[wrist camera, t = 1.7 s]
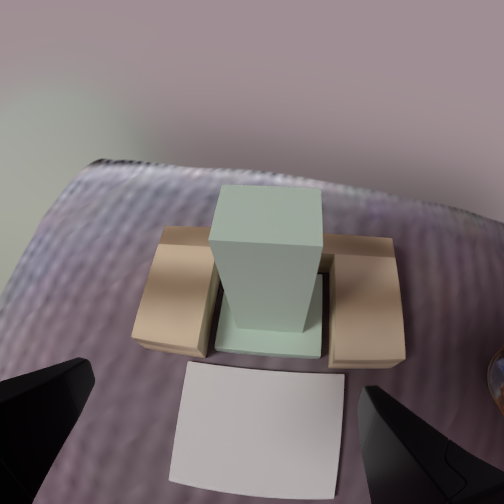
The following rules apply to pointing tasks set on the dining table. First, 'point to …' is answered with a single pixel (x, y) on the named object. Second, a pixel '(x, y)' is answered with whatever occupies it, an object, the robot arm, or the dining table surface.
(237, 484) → the mat
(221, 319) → the mint green pillar
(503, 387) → the tin
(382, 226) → the dining table surface
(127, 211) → the dining table surface
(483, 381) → the dining table surface
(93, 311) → the dining table surface
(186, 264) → the stand
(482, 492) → the robot arm
